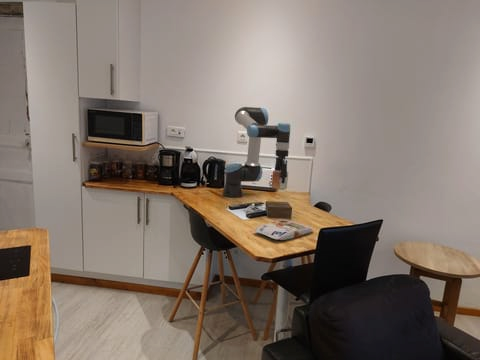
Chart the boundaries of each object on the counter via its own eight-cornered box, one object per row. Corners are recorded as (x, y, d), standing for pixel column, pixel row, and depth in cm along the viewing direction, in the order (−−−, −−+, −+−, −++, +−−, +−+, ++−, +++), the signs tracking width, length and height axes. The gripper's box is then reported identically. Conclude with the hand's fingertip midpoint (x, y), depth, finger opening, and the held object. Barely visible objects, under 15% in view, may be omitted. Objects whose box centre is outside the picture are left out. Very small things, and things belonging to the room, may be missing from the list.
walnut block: (264, 212, 226) (265, 201, 225) (287, 212, 227) (287, 202, 226) (267, 218, 212) (268, 206, 211) (291, 219, 213) (292, 207, 212)
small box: (271, 188, 216) (272, 171, 214) (274, 186, 221) (276, 170, 219) (283, 190, 212) (285, 172, 210) (287, 188, 217) (288, 171, 215)
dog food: (288, 224, 203) (289, 216, 202) (315, 233, 190) (316, 224, 189) (250, 234, 182) (251, 225, 181) (278, 245, 169) (278, 235, 168)
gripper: (270, 147, 222) (268, 183, 226) (282, 151, 201) (279, 190, 205) (282, 147, 224) (279, 183, 228) (294, 151, 203) (291, 190, 207)
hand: (279, 186), depth 216 cm, fingers closed on small box, 9 cm apart
